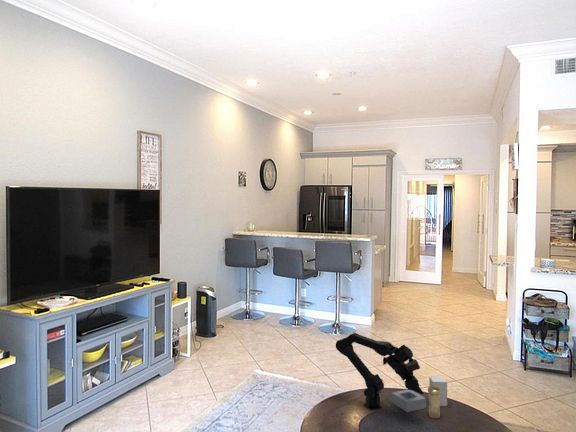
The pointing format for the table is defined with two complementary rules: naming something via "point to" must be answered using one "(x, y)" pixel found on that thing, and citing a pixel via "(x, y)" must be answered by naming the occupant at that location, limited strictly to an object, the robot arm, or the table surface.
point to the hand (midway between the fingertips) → (420, 389)
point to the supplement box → (441, 384)
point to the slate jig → (408, 400)
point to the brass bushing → (434, 402)
